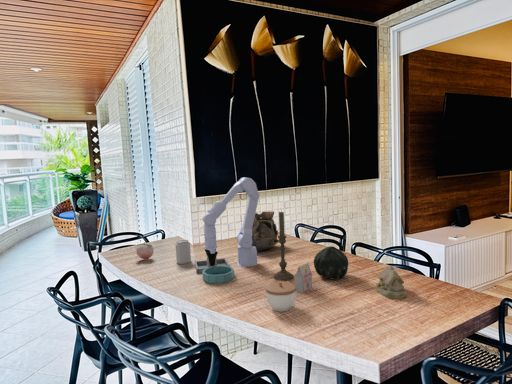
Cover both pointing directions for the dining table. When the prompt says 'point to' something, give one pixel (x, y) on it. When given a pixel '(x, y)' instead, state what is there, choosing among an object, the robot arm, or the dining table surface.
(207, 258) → the gray rectangular block
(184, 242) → the can
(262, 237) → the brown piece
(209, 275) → the bowl
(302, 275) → the milk carton
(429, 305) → the dining table surface
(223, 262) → the parts tray
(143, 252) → the decorative fruit
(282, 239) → the candlestick holder
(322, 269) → the squash
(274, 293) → the lidded jar
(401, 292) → the ceramic model
